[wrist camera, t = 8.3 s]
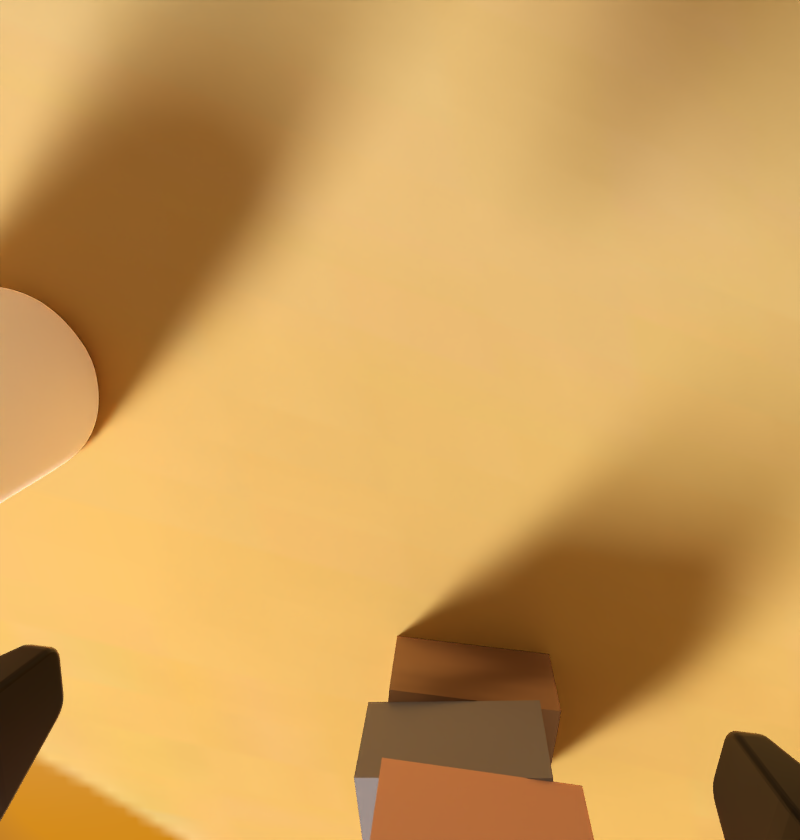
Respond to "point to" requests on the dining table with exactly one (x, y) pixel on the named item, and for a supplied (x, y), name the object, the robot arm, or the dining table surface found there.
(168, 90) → the dining table surface
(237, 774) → the dining table surface
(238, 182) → the dining table surface
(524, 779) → the terracotta block
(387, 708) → the gray block
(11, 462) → the can
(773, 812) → the robot arm
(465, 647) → the walnut block
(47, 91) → the dining table surface
